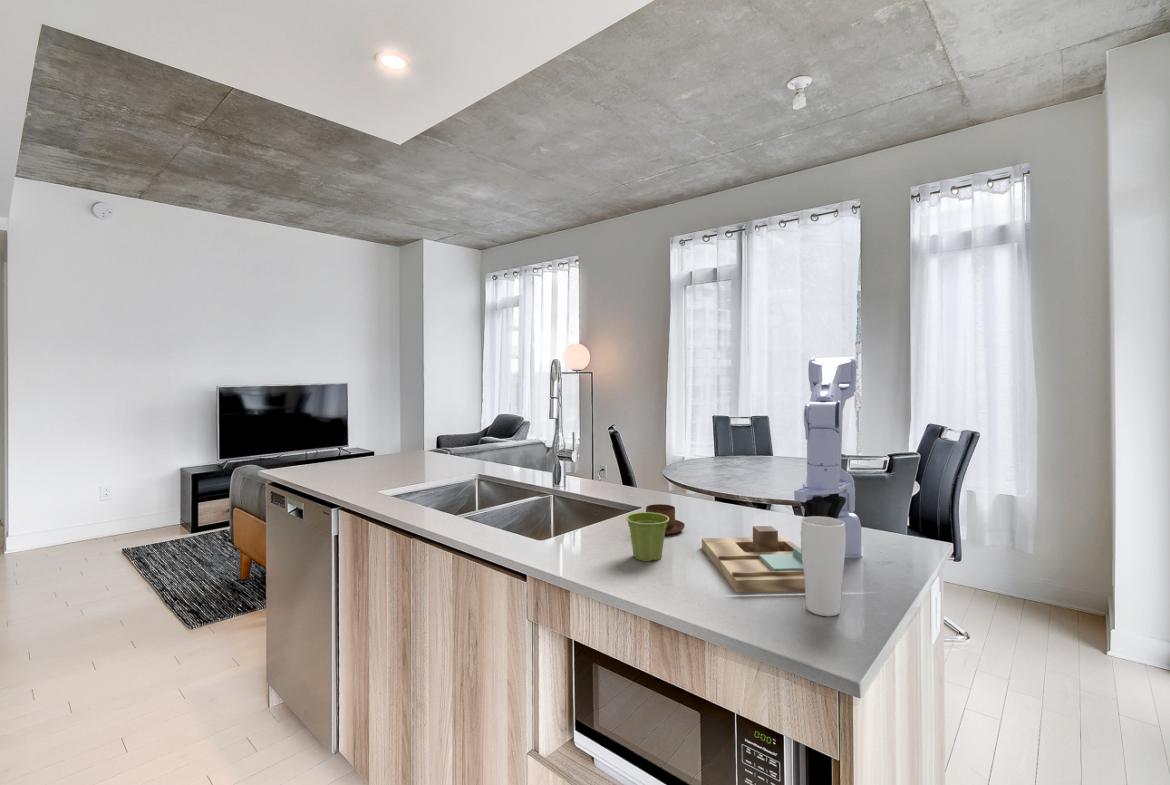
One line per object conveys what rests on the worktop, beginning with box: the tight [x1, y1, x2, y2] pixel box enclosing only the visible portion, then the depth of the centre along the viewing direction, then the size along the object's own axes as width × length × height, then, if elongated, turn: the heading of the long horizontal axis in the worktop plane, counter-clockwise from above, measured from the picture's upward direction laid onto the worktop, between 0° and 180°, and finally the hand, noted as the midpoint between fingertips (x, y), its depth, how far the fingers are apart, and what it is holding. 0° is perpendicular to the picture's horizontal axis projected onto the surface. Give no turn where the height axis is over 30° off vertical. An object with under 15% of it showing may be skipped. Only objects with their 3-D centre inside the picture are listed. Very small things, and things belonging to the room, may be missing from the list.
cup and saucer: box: [645, 503, 686, 536], centre depth 139 cm, size 12×12×6 cm
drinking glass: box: [800, 516, 846, 617], centre depth 91 cm, size 7×7×15 cm
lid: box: [759, 546, 803, 571], centre depth 106 cm, size 8×8×2 cm
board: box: [701, 536, 805, 593], centre depth 112 cm, size 19×26×3 cm
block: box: [752, 525, 779, 552], centre depth 118 cm, size 4×4×6 cm
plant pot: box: [625, 511, 669, 562], centre depth 119 cm, size 9×9×9 cm
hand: (822, 534), depth 106 cm, fingers closed
